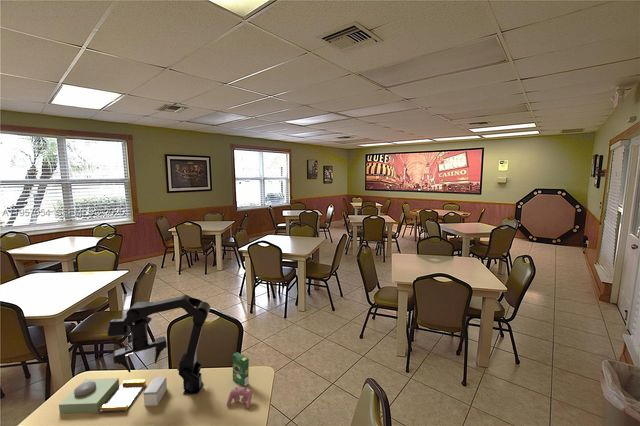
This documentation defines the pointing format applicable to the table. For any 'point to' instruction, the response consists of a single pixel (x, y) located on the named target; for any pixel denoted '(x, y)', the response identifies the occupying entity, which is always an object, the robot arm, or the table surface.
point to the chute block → (155, 391)
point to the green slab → (89, 396)
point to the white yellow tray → (123, 396)
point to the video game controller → (240, 392)
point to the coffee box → (240, 369)
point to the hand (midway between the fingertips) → (142, 367)
